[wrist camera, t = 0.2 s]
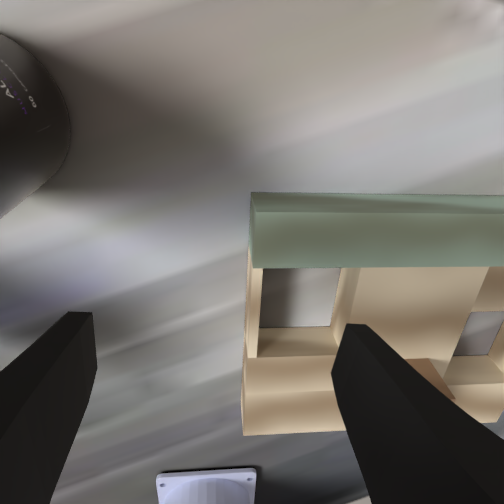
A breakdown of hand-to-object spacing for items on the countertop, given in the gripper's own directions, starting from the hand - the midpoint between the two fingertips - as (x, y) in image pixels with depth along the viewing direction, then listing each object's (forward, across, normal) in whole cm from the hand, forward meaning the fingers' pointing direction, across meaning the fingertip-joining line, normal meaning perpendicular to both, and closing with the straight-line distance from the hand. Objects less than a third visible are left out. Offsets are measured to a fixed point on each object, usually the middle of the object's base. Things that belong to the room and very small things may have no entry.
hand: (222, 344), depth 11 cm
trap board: (+10, -11, +6) cm, 16 cm away
